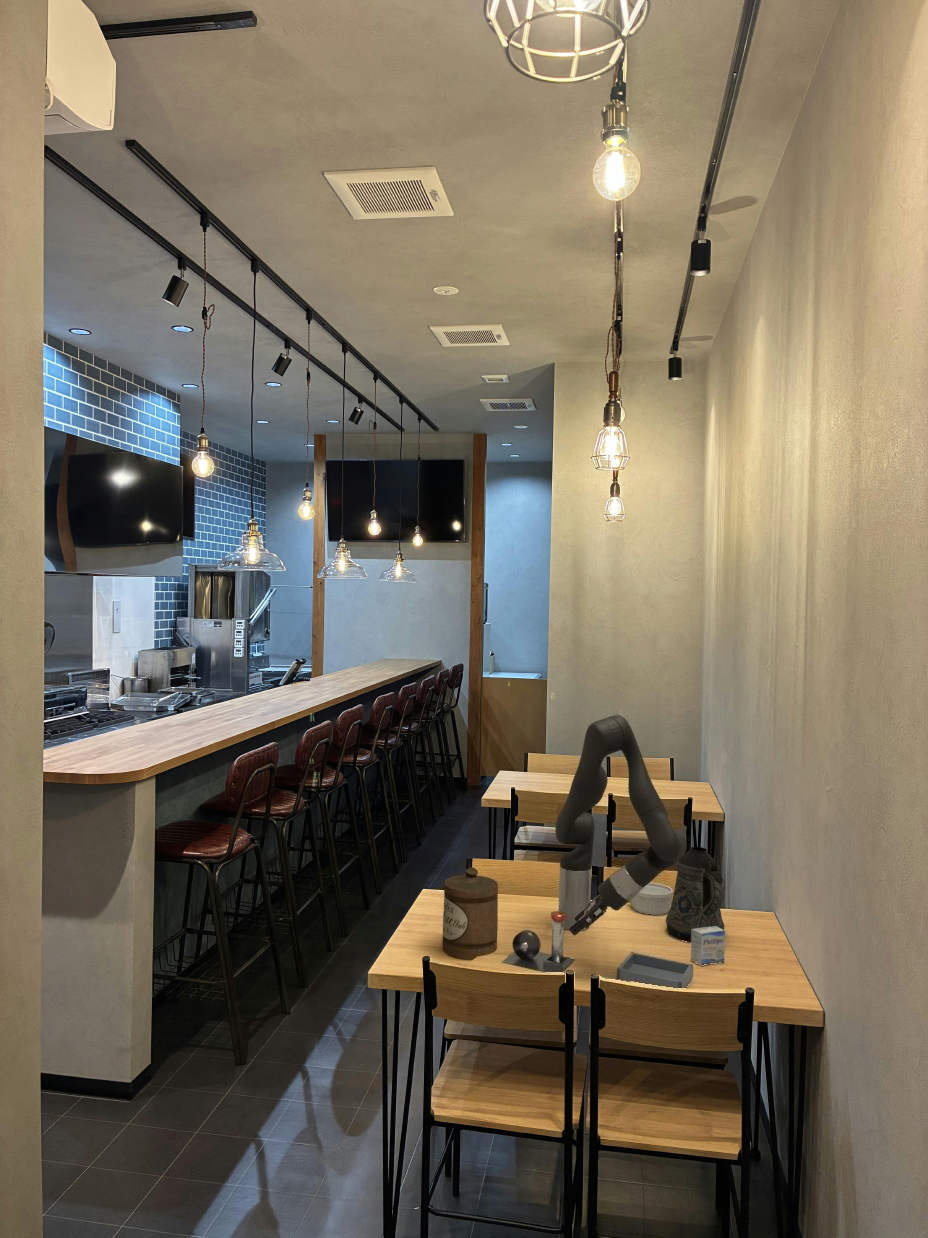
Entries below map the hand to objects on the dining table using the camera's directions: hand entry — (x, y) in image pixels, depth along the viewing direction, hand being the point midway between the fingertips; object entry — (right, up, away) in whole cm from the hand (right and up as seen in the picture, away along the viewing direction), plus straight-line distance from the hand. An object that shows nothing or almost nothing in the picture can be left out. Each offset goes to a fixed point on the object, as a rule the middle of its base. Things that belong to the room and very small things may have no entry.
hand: (574, 927), depth 223 cm
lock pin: (-4, -10, +1) cm, 11 cm away
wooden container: (-27, -11, +12) cm, 31 cm away
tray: (+20, -12, -4) cm, 23 cm away
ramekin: (+30, -13, +51) cm, 61 cm away
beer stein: (+40, -13, +29) cm, 51 cm away
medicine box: (+37, -13, +10) cm, 40 cm away
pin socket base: (-9, -11, +3) cm, 15 cm away
